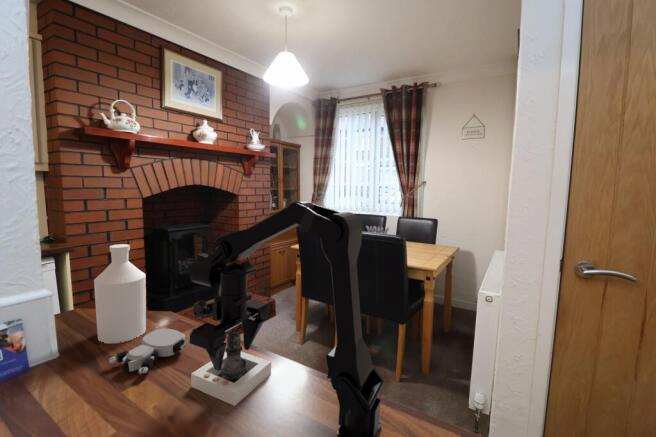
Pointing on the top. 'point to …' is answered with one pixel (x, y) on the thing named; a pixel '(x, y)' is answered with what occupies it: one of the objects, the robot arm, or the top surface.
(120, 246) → the bottle
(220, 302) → the robot arm
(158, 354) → the robot toy
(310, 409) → the top surface
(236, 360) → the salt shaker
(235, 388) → the socket block
